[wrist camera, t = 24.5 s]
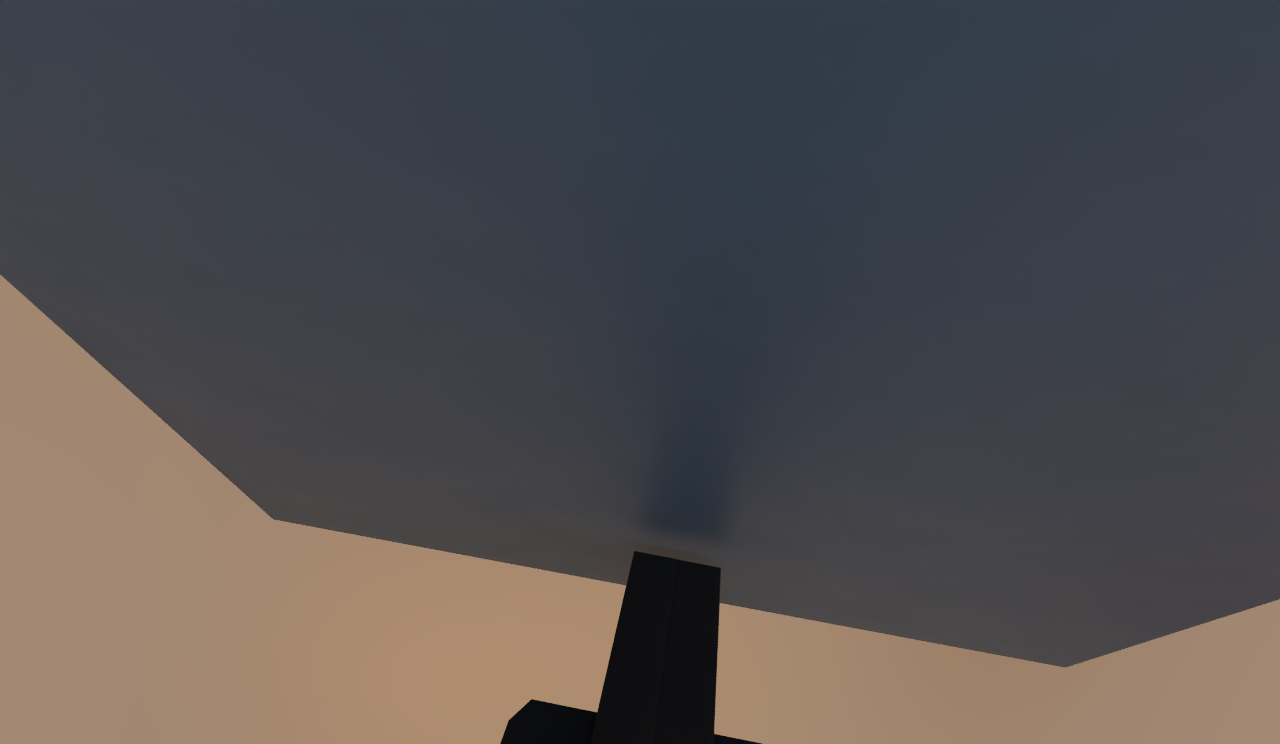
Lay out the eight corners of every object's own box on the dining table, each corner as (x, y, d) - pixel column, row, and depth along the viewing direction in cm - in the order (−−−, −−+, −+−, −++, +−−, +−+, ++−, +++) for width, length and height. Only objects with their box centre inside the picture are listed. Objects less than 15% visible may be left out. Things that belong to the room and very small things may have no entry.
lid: (1066, 629, 19) (1067, 668, 19) (283, 484, 20) (271, 519, 20) (2674, -14, 4) (2815, 119, 4) (-660, -494, 5) (-781, -417, 5)
